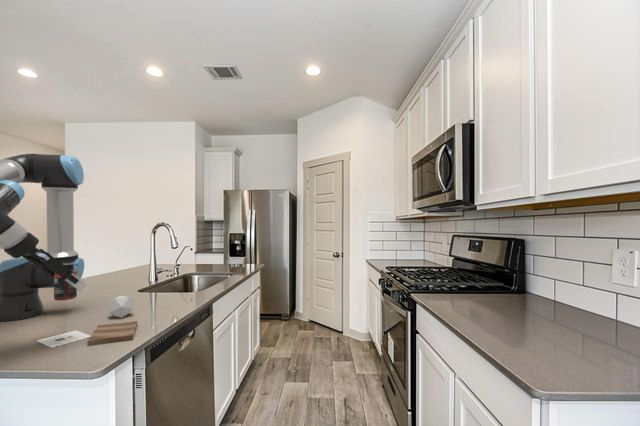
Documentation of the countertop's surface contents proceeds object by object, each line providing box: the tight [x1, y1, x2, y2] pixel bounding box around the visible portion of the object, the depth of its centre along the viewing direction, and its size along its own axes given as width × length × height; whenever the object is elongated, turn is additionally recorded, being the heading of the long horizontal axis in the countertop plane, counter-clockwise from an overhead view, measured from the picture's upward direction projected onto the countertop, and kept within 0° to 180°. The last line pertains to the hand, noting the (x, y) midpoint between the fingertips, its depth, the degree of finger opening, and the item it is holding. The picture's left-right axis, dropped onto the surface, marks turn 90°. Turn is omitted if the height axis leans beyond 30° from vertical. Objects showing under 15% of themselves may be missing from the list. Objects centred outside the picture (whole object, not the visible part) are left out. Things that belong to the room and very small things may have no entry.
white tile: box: [35, 330, 91, 349], centre depth 104 cm, size 11×11×1 cm
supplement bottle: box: [53, 263, 78, 301], centre depth 105 cm, size 6×6×11 cm
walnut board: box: [87, 320, 138, 347], centre depth 108 cm, size 16×12×2 cm
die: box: [107, 295, 134, 319], centre depth 129 cm, size 8×9×10 cm
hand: (78, 286), depth 108 cm, fingers closed on supplement bottle, 6 cm apart
